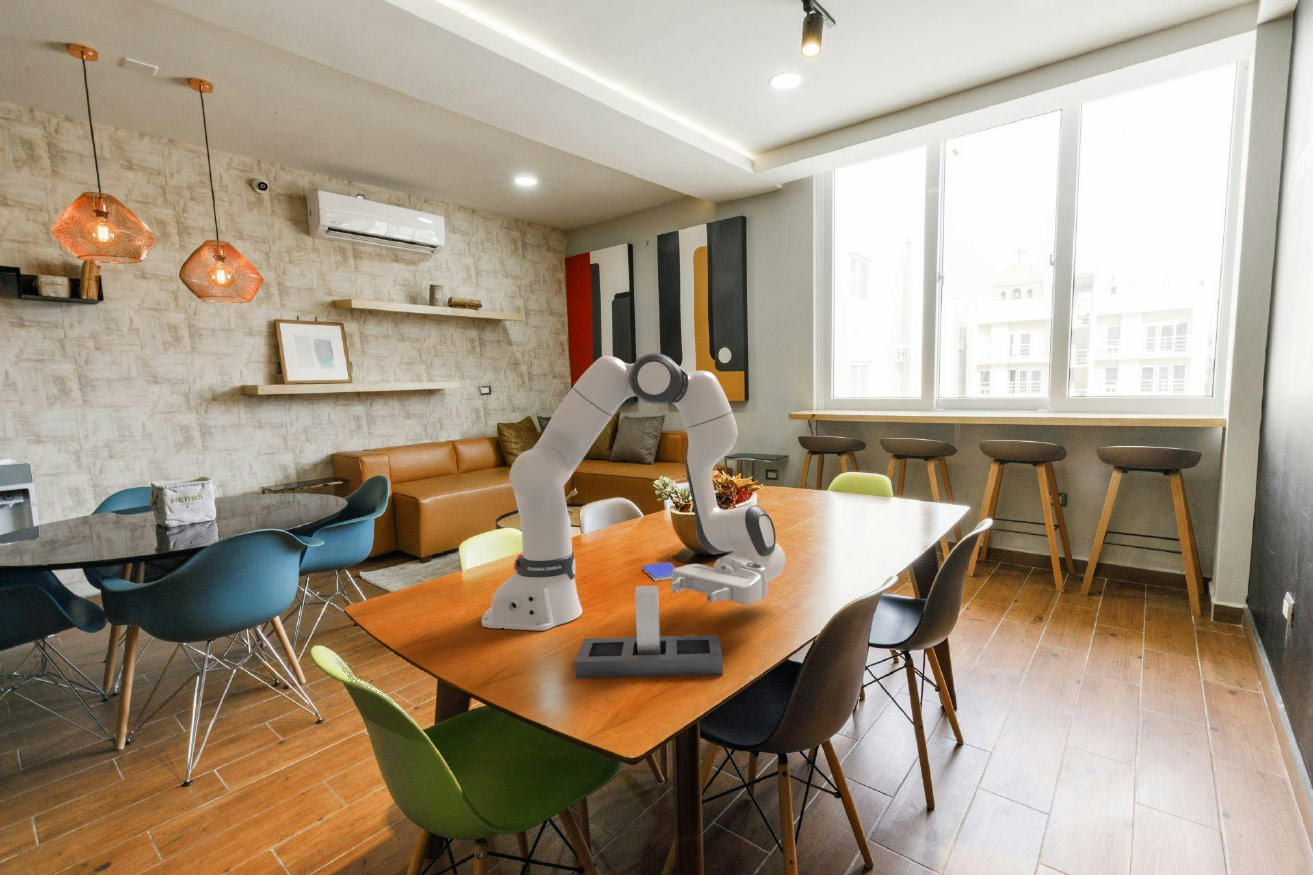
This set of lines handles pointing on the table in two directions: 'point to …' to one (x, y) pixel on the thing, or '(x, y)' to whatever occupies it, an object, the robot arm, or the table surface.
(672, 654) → the dark grey flat frame
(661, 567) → the hard drive
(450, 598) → the table surface
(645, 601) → the post
